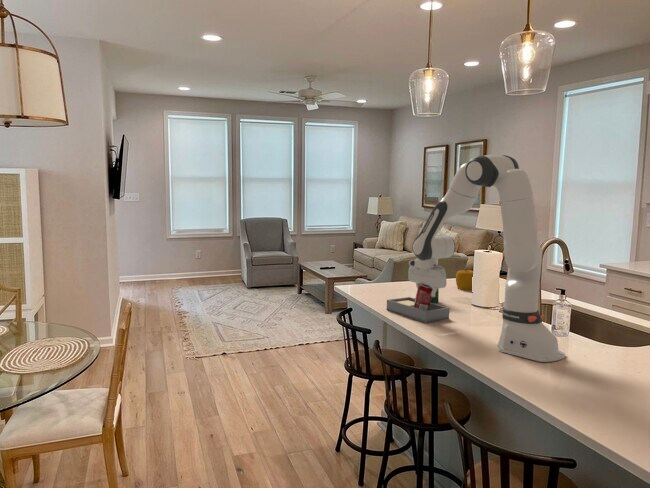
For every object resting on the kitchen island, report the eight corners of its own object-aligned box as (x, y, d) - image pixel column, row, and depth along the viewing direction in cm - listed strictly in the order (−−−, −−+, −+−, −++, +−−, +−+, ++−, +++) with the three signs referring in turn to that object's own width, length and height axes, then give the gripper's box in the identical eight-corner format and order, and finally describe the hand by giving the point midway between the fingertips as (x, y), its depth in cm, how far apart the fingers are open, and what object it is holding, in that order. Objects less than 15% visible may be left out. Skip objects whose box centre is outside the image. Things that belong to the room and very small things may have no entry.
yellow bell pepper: (462, 289, 280) (463, 267, 279) (479, 292, 273) (480, 269, 271) (451, 291, 273) (452, 268, 272) (468, 295, 265) (469, 271, 264)
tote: (448, 319, 212) (449, 307, 211) (425, 323, 205) (426, 311, 204) (408, 307, 233) (409, 296, 233) (386, 310, 226) (386, 299, 226)
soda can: (428, 314, 213) (434, 289, 209) (412, 310, 214) (419, 285, 210) (428, 307, 219) (435, 283, 215) (413, 303, 220) (419, 279, 216)
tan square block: (421, 310, 223) (421, 304, 223) (406, 312, 218) (406, 306, 218) (407, 306, 231) (408, 300, 230) (393, 308, 226) (393, 302, 226)
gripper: (450, 265, 205) (449, 298, 206) (416, 260, 222) (415, 290, 223) (439, 266, 202) (438, 300, 203) (406, 261, 219) (405, 291, 220)
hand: (426, 294), depth 213 cm, fingers closed on soda can, 6 cm apart
